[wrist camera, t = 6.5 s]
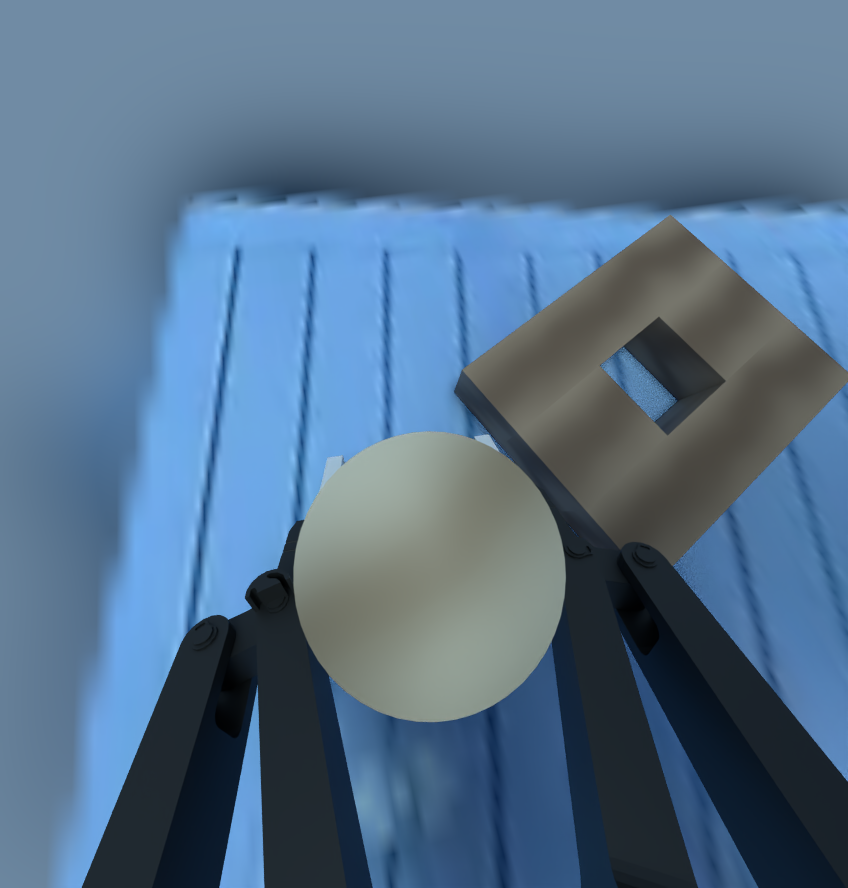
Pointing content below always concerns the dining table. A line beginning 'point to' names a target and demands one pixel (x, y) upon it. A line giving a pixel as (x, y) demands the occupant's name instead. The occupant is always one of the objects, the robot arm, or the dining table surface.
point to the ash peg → (429, 576)
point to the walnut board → (676, 367)
